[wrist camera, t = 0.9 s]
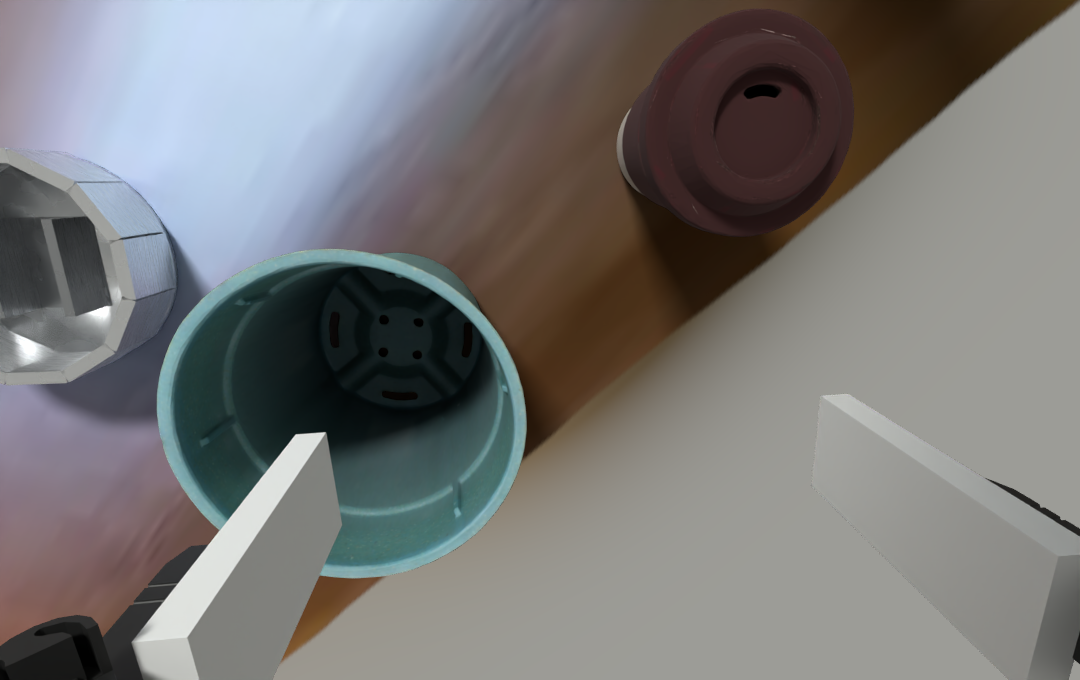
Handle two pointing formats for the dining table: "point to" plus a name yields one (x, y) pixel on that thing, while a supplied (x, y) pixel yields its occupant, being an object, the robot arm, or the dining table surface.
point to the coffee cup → (741, 124)
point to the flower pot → (348, 400)
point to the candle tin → (76, 268)
